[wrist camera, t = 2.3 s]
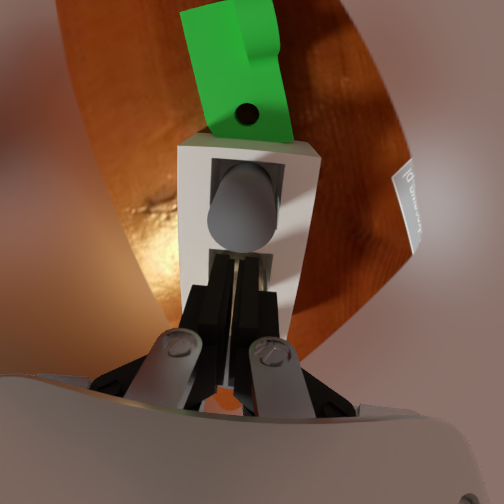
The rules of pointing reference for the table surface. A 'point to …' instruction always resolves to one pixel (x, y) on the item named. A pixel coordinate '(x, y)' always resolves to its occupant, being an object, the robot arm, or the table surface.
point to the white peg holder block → (286, 205)
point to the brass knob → (237, 256)
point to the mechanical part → (238, 68)
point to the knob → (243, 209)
